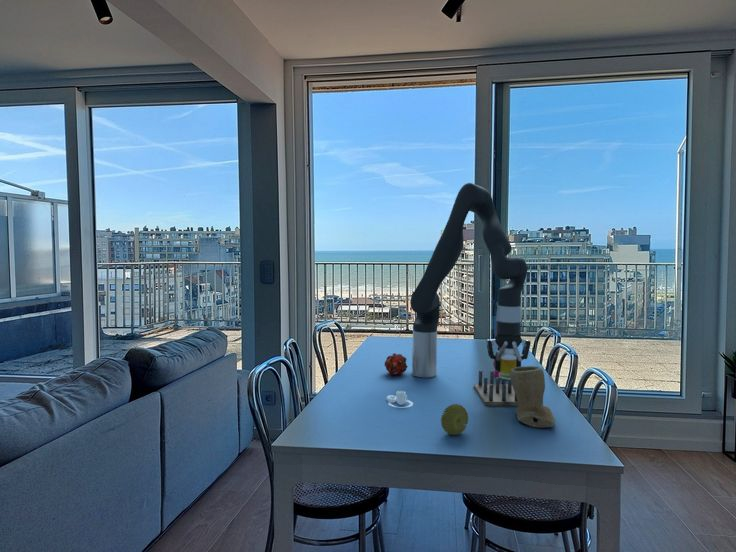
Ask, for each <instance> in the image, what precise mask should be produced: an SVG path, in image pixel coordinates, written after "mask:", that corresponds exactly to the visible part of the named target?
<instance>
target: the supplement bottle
mask: <svg viewBox="0 0 736 552" xmlns="http://www.w3.org/2000/svg"><path fill="white" fill-rule="evenodd" d="M514 352H515V351H514V349H505V350H504V352H503V354H502V355H501V358H500V372H499V378H500V379H501V380H502V379H505V381H506V380H507V381H508V380H511V376H510V371H511V369H512V368H515V367H516V363H517V357H516V355H515V354H514Z"/></svg>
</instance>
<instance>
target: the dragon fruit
mask: <svg viewBox="0 0 736 552" xmlns="http://www.w3.org/2000/svg"><path fill="white" fill-rule="evenodd" d="M396 353H397V352H395V353H392V355H388V356H387V357H386V360H385V361H384V367H385V368H386V369H385V370H386V371H387V372H388V374H389V376H391V377H392V376H396V375H400V376H401V375H403V373H405V372H406V370H407V368H408V365H407V358H406V356H403V355H402V354H401V353H398V354H396Z"/></svg>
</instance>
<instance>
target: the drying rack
mask: <svg viewBox="0 0 736 552" xmlns="http://www.w3.org/2000/svg"><path fill="white" fill-rule="evenodd" d="M489 371H490V372H489V374H490V378H489V384H488V376H484V377H483V370H478V383H473V389H474V390H475V391H476V392H475V393H477V395H478V396H479V398H480V400H481V401H482V403H483V404H484V406H491V407H493V406H495V407H496V406H497V407H498V406H499V407H500V406H503V407H504V406H506V407H507V406H510V407H518V400H517V397H516V394H515V392H514V389H513V386H512V383H511V380H507V384H506V379H502V378H500V377H497V376H495V375H494V371H495V370H489ZM500 379H501V381H500ZM494 382H495V383H494Z"/></svg>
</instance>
